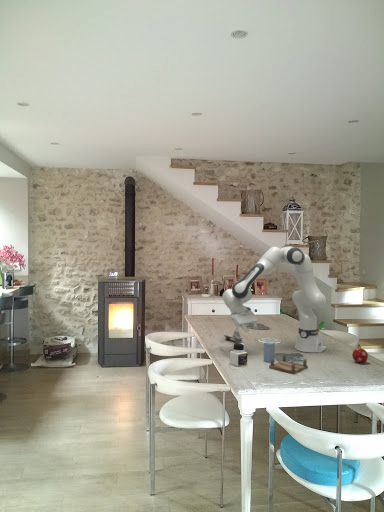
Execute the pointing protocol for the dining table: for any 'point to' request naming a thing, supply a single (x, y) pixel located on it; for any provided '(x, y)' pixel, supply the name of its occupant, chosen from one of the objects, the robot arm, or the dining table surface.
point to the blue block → (269, 351)
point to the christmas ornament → (360, 355)
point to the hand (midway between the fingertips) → (252, 330)
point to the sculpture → (236, 337)
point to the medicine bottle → (238, 355)
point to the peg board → (288, 366)
